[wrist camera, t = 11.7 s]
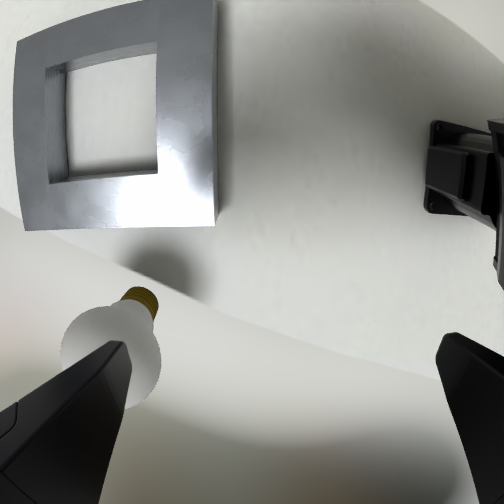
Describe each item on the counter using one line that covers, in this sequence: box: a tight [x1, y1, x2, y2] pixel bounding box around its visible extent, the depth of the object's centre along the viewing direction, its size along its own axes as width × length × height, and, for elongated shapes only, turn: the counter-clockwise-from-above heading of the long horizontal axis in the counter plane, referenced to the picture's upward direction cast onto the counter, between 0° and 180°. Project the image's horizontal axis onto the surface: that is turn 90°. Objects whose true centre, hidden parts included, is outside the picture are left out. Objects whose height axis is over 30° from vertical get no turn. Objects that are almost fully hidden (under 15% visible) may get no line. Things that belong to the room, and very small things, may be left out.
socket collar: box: [13, 0, 219, 231], centre depth 16 cm, size 14×14×2 cm
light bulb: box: [60, 287, 161, 409], centre depth 17 cm, size 6×6×10 cm
